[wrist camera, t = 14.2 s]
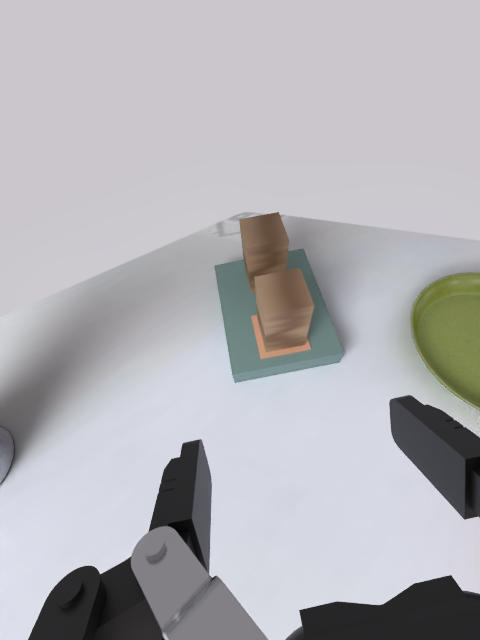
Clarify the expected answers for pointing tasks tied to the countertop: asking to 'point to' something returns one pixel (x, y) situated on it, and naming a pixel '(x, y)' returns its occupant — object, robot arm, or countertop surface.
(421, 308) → the saucer
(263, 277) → the walnut block
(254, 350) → the build board
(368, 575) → the countertop surface
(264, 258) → the walnut column
